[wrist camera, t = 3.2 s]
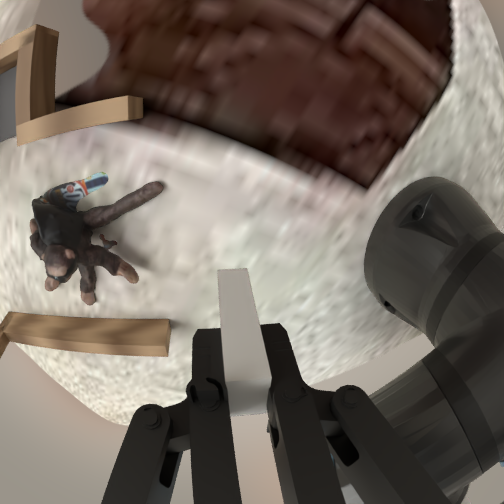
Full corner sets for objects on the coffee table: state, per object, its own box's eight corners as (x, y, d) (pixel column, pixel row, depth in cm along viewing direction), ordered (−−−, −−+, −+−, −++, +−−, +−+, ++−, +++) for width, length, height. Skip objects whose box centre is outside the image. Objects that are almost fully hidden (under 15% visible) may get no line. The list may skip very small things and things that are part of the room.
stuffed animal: (19, 272, 19) (-16, 218, 10) (65, 197, 24) (66, 120, 15) (114, 328, 24) (131, 311, 14) (150, 247, 29) (188, 189, 20)
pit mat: (40, 55, 11) (38, 55, 11) (39, 127, 14) (37, 128, 14) (-15, 84, 10) (-16, 84, 10) (-13, 147, 14) (-15, 148, 13)
